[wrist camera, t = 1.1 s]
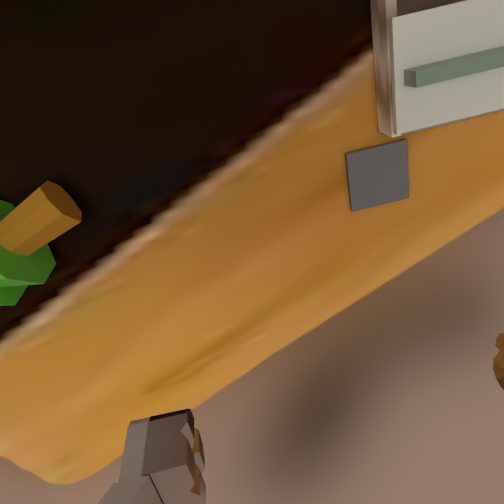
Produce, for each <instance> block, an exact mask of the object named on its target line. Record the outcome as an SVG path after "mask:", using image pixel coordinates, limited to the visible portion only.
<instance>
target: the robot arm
mask: <svg viewBox="0 0 504 504" xmlns="http://www.w3.org/2000/svg"><path fill="white" fill-rule="evenodd" d="M495 346H496V347H497V348H498V349H499V350H500V351H499V353H498V354H497V355H496V356H495V358H494V360H493V370H494V373H495V377H496V379H497V381H498V383H499V384H500V386H501V387H502V388H503V389H504V333H501V334H499V335H498V337H497V338H496V344H495ZM204 469H205V457H204V450H203V444H202V440H201V436H200V433H199V430H198V429H196V428H194V417H193V414H192V412H191V409H185V410H180V411H175V412H170V413H166V414H161V415H156V416H152V417H148V418H144V419H139V420H134V421H131V422H130V424H129V426H128V429H127V436H126V442H125V448H124V454H123V460H122V466H121V472H120V478H119V482H118V483H114V484H113V485H112V486H111V487H110V488H109V490H108V491H107V492H106V494H105V495H104V497H103V498H102V499H101V501H100V502H99V503H98V504H206V485H205V482H204V480H203V477H202V472H203V471H204Z"/></svg>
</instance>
